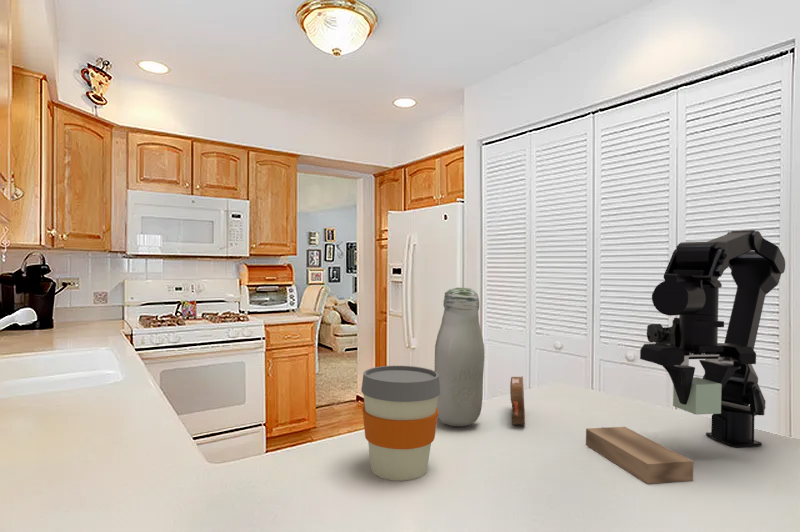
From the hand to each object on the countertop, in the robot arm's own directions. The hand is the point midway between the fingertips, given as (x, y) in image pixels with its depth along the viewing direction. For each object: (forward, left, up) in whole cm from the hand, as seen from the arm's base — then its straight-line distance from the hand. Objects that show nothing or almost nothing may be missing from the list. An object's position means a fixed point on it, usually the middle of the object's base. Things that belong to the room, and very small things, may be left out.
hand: (696, 403), depth 83 cm
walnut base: (+12, 0, -9) cm, 15 cm away
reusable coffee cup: (+52, -3, -10) cm, 53 cm away
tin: (+22, -24, -10) cm, 34 cm away
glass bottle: (+36, -22, -10) cm, 43 cm away
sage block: (0, 0, -1) cm, 1 cm away
